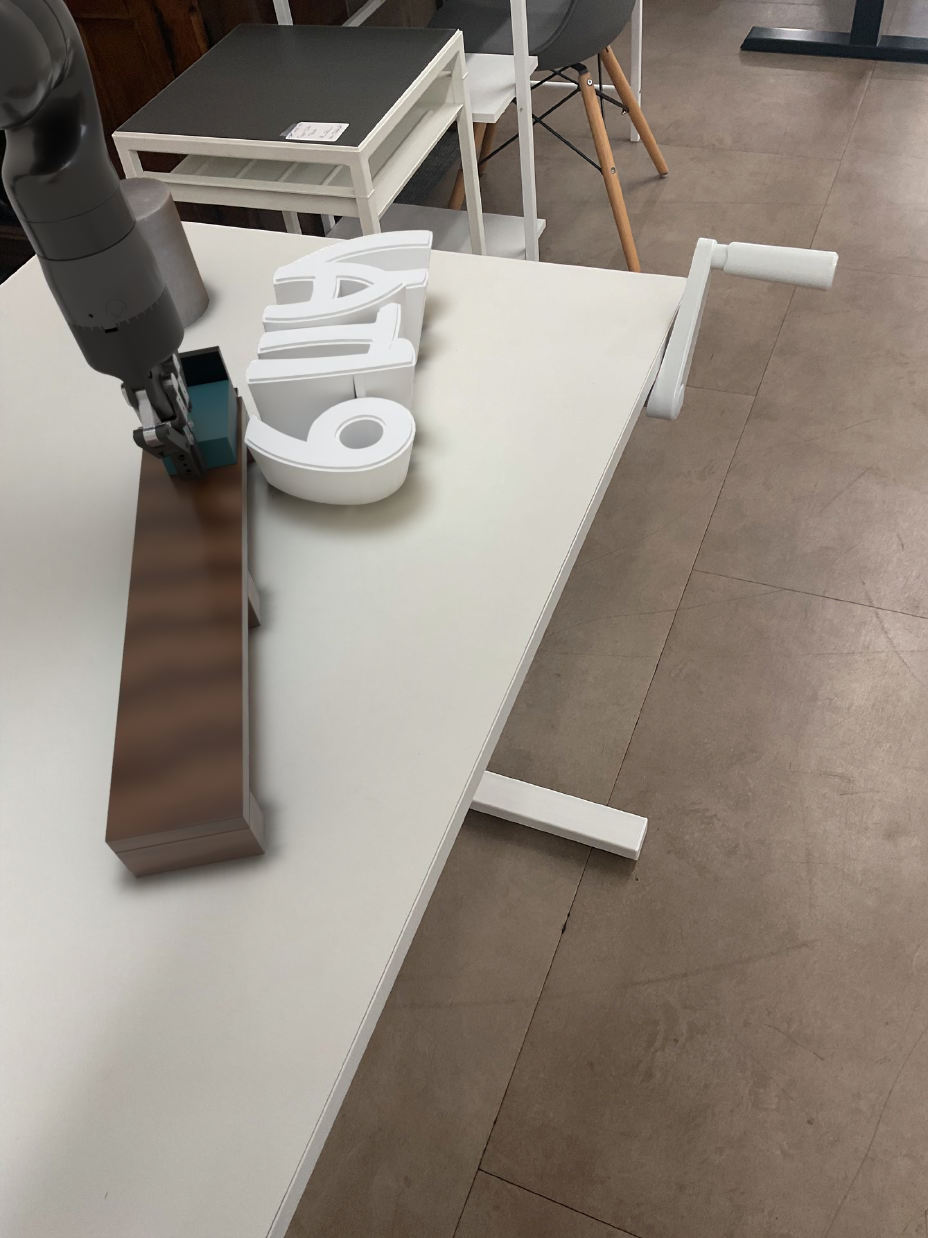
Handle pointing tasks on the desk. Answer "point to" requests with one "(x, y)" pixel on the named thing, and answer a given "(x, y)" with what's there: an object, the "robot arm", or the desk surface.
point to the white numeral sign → (341, 369)
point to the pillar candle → (168, 244)
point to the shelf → (186, 676)
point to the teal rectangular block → (213, 424)
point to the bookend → (205, 367)
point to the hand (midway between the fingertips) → (195, 474)
